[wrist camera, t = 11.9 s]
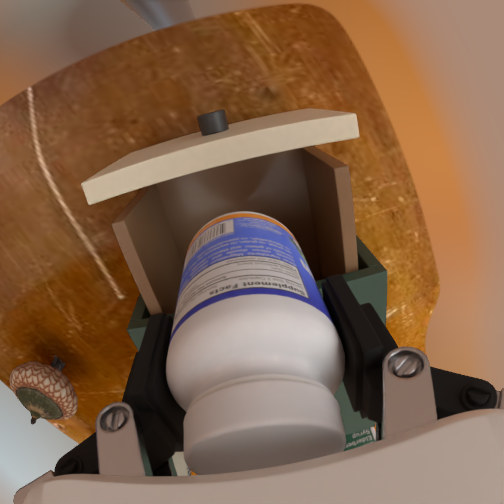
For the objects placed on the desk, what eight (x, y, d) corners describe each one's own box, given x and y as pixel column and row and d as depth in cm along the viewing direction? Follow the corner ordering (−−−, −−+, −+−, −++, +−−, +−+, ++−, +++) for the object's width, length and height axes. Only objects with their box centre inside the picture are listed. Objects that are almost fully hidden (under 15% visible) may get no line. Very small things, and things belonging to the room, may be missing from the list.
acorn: (19, 335, 29) (-16, 394, 20) (67, 328, 29) (32, 397, 20) (53, 382, 33) (29, 441, 24) (102, 379, 33) (81, 447, 24)
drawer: (125, 138, 21) (72, 160, 13) (306, 92, 20) (351, 88, 13) (191, 320, 28) (182, 395, 21) (335, 286, 28) (370, 354, 20)
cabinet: (158, 247, 26) (126, 330, 16) (330, 206, 25) (387, 270, 16) (214, 378, 33) (214, 460, 24) (343, 349, 33) (375, 426, 23)
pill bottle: (293, 305, 16) (346, 481, 8) (188, 308, 16) (176, 494, 7) (305, 206, 14) (412, 384, 5) (180, 207, 13) (129, 406, 5)
